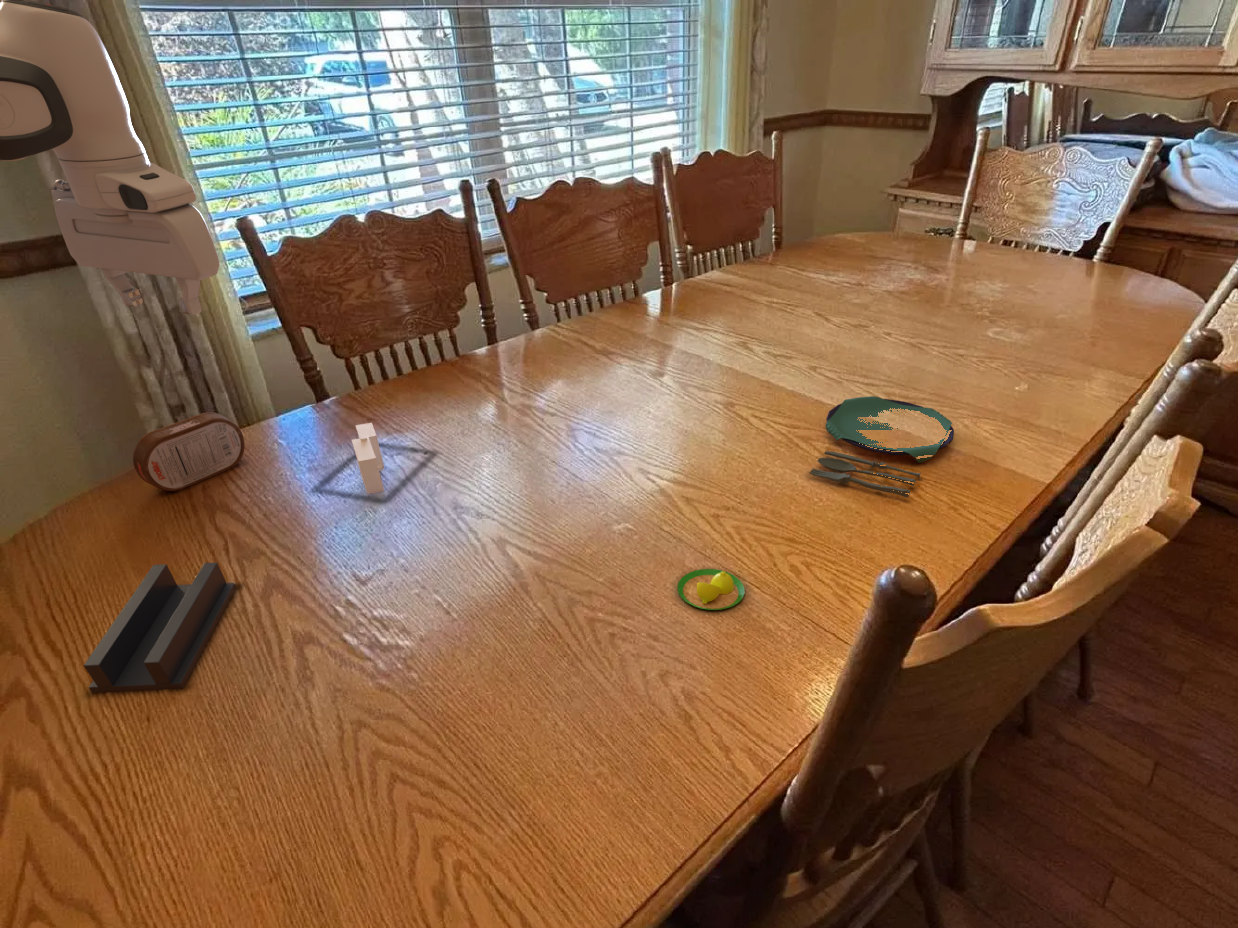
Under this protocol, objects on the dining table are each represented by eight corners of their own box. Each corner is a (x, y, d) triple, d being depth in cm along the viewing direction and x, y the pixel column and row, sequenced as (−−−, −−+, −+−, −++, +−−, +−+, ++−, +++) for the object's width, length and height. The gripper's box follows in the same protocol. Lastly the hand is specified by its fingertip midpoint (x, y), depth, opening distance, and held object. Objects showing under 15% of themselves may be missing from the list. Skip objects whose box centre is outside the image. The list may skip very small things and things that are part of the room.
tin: (243, 455, 113) (223, 402, 108) (255, 461, 112) (236, 408, 106) (147, 496, 104) (119, 440, 99) (159, 503, 103) (132, 447, 97)
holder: (93, 694, 75) (73, 666, 73) (159, 592, 88) (145, 564, 85) (184, 690, 76) (168, 661, 73) (237, 589, 89) (225, 561, 86)
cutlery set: (962, 425, 123) (966, 411, 121) (919, 508, 103) (924, 493, 102) (845, 400, 130) (847, 387, 128) (784, 473, 110) (786, 459, 109)
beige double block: (386, 503, 103) (377, 466, 99) (314, 492, 105) (302, 455, 102) (435, 454, 114) (428, 419, 110) (369, 445, 116) (360, 410, 112)
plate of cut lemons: (734, 620, 85) (737, 601, 83) (668, 604, 87) (669, 585, 85) (751, 581, 90) (753, 562, 88) (688, 567, 92) (689, 548, 91)
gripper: (22, 183, 86) (80, 307, 95) (162, 196, 81) (209, 326, 91) (68, 173, 91) (120, 293, 100) (204, 185, 86) (245, 310, 95)
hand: (163, 309), depth 95 cm, fingers open, 8 cm apart
